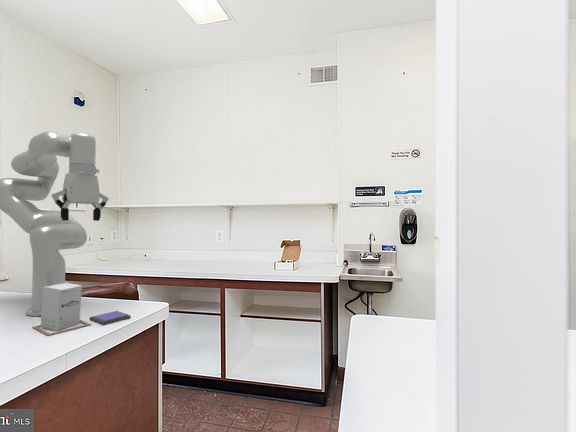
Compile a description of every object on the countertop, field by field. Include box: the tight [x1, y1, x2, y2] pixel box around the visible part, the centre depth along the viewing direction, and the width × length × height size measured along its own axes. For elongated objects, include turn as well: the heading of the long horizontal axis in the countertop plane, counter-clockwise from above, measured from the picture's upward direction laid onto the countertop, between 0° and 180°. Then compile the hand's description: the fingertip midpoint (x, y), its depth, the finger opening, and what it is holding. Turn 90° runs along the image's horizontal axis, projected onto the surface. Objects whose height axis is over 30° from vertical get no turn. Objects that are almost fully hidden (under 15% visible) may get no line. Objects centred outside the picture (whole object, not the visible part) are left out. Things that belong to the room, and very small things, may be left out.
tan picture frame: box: [31, 318, 92, 337], centre depth 99 cm, size 12×12×1 cm
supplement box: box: [40, 282, 83, 332], centre depth 99 cm, size 7×7×13 cm
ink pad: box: [89, 310, 131, 326], centre depth 107 cm, size 9×9×1 cm
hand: (81, 220), depth 108 cm, fingers open, 9 cm apart
